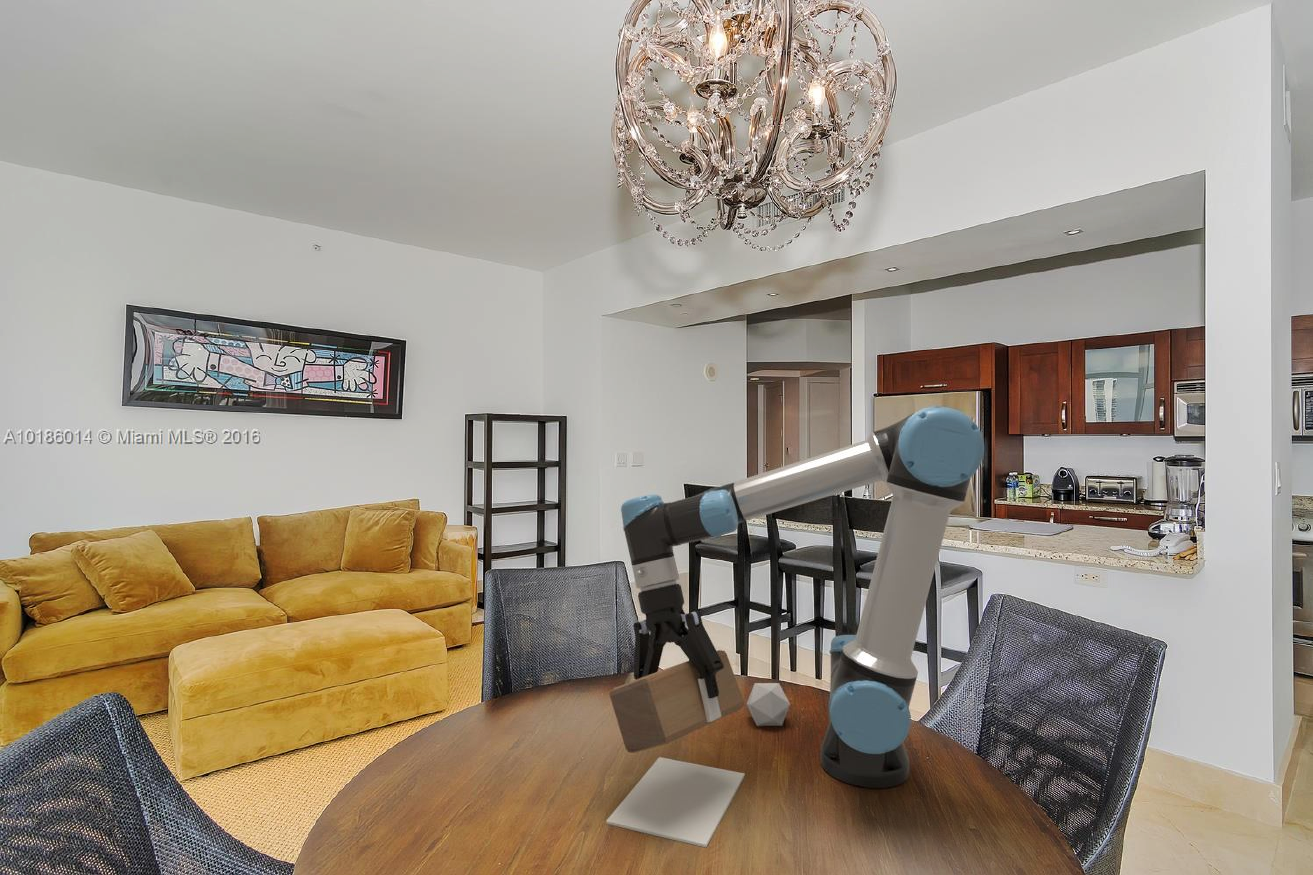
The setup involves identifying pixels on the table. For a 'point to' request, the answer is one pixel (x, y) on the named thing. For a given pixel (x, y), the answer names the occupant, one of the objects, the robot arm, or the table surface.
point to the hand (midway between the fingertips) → (687, 720)
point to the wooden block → (670, 704)
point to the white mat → (678, 801)
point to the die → (768, 704)
